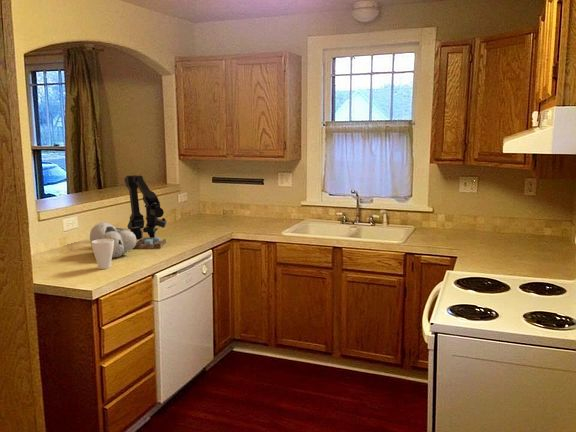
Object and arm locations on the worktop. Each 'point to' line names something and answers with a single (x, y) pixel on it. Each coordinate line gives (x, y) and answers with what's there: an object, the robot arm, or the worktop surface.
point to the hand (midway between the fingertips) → (152, 240)
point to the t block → (150, 240)
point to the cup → (103, 252)
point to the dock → (149, 245)
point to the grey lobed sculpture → (114, 238)
